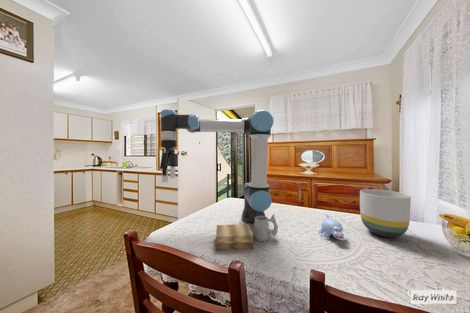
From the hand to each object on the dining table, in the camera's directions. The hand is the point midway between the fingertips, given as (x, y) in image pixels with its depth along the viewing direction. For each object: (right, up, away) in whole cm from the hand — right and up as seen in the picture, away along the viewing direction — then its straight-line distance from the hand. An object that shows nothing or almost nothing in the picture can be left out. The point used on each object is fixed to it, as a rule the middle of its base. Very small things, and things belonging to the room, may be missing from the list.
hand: (169, 180), depth 92 cm
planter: (+111, -28, -3) cm, 114 cm away
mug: (+50, -28, -7) cm, 58 cm away
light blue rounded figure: (+83, -28, -6) cm, 88 cm away
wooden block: (+34, -28, -11) cm, 45 cm away
